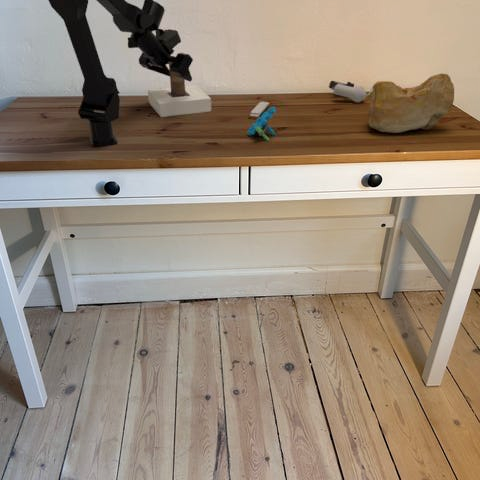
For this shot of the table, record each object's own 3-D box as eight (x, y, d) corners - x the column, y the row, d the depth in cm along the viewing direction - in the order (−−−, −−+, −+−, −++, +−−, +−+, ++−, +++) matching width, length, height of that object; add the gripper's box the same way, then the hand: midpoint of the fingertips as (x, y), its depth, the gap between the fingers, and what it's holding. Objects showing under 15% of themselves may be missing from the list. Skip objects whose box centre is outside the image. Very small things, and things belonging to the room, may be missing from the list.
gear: (250, 121, 133) (275, 99, 127) (265, 135, 135) (290, 115, 128) (240, 139, 125) (267, 117, 119) (256, 155, 126) (282, 133, 120)
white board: (211, 111, 145) (210, 98, 143) (160, 117, 140) (159, 103, 138) (195, 97, 158) (195, 85, 155) (148, 102, 152) (147, 90, 150)
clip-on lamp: (375, 103, 164) (326, 91, 162) (382, 85, 161) (332, 72, 159) (385, 110, 153) (332, 97, 151) (392, 91, 150) (338, 77, 148)
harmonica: (260, 106, 152) (261, 99, 150) (270, 107, 151) (270, 100, 150) (248, 119, 140) (248, 113, 139) (258, 121, 139) (258, 114, 138)
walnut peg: (188, 108, 148) (185, 65, 141) (174, 109, 146) (170, 66, 139) (184, 104, 151) (181, 62, 144) (170, 105, 150) (166, 63, 143)
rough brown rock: (426, 117, 144) (434, 66, 137) (454, 132, 129) (464, 75, 122) (353, 123, 142) (357, 71, 135) (373, 138, 127) (378, 80, 120)
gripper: (186, 24, 127) (214, 60, 140) (142, 17, 138) (172, 51, 151) (166, 59, 127) (197, 91, 140) (124, 49, 137) (156, 81, 150)
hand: (180, 77), depth 145 cm, fingers open, 9 cm apart
